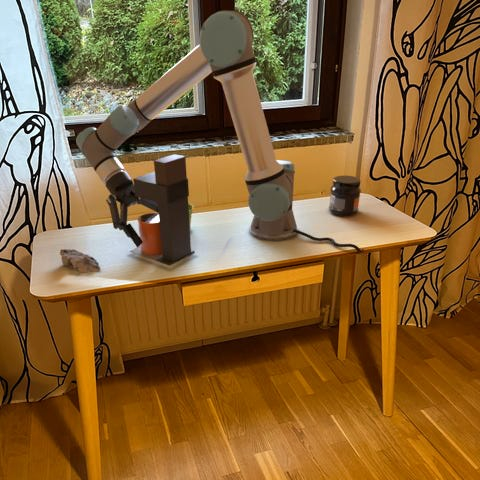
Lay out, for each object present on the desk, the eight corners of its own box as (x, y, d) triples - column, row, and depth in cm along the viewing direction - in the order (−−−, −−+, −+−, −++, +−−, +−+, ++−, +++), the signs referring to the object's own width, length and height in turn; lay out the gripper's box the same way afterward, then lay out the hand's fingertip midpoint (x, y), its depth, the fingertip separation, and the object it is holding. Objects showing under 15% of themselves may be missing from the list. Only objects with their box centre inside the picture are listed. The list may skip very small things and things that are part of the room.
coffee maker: (129, 255, 152) (116, 154, 136) (155, 243, 160) (145, 146, 144) (169, 270, 144) (160, 164, 128) (194, 256, 151) (189, 155, 135)
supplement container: (362, 210, 184) (366, 177, 178) (351, 219, 177) (355, 185, 170) (335, 205, 189) (338, 173, 182) (323, 213, 181) (326, 180, 175)
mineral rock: (105, 273, 142) (103, 259, 140) (78, 281, 138) (75, 267, 136) (85, 255, 152) (83, 242, 150) (59, 262, 148) (56, 248, 146)
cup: (172, 245, 155) (169, 213, 150) (163, 256, 148) (160, 224, 143) (147, 242, 156) (143, 211, 151) (137, 253, 150) (133, 221, 144)
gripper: (140, 175, 160) (178, 230, 161) (76, 196, 143) (120, 257, 144) (150, 160, 155) (190, 217, 155) (86, 180, 138) (130, 244, 138)
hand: (156, 237), depth 149 cm, fingers open, 13 cm apart
